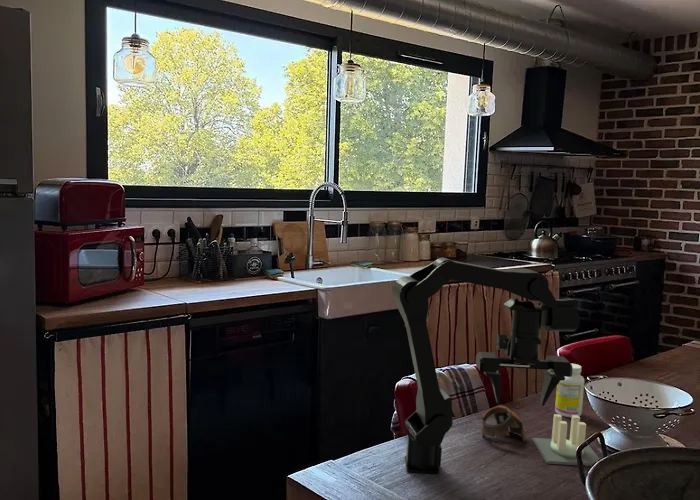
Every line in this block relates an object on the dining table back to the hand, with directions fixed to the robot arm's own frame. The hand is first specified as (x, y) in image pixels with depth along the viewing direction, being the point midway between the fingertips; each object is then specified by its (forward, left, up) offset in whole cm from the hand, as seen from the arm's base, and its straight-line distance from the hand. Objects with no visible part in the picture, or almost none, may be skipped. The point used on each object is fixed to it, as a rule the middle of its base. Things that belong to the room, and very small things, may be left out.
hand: (519, 404), depth 133 cm
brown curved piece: (0, +15, -13) cm, 20 cm away
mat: (+13, +7, -13) cm, 20 cm away
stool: (+13, +7, -12) cm, 19 cm away
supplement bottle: (+21, +32, -13) cm, 40 cm away
